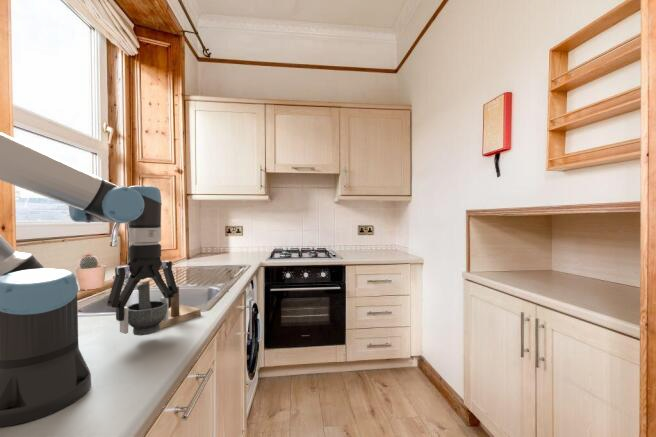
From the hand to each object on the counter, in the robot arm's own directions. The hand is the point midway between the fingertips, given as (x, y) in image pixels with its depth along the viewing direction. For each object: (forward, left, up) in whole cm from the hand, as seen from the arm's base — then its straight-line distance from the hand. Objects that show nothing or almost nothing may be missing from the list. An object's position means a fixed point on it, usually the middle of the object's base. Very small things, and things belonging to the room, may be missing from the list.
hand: (145, 326), depth 83 cm
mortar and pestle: (0, 0, -1) cm, 1 cm away
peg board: (+13, +15, -4) cm, 20 cm away
